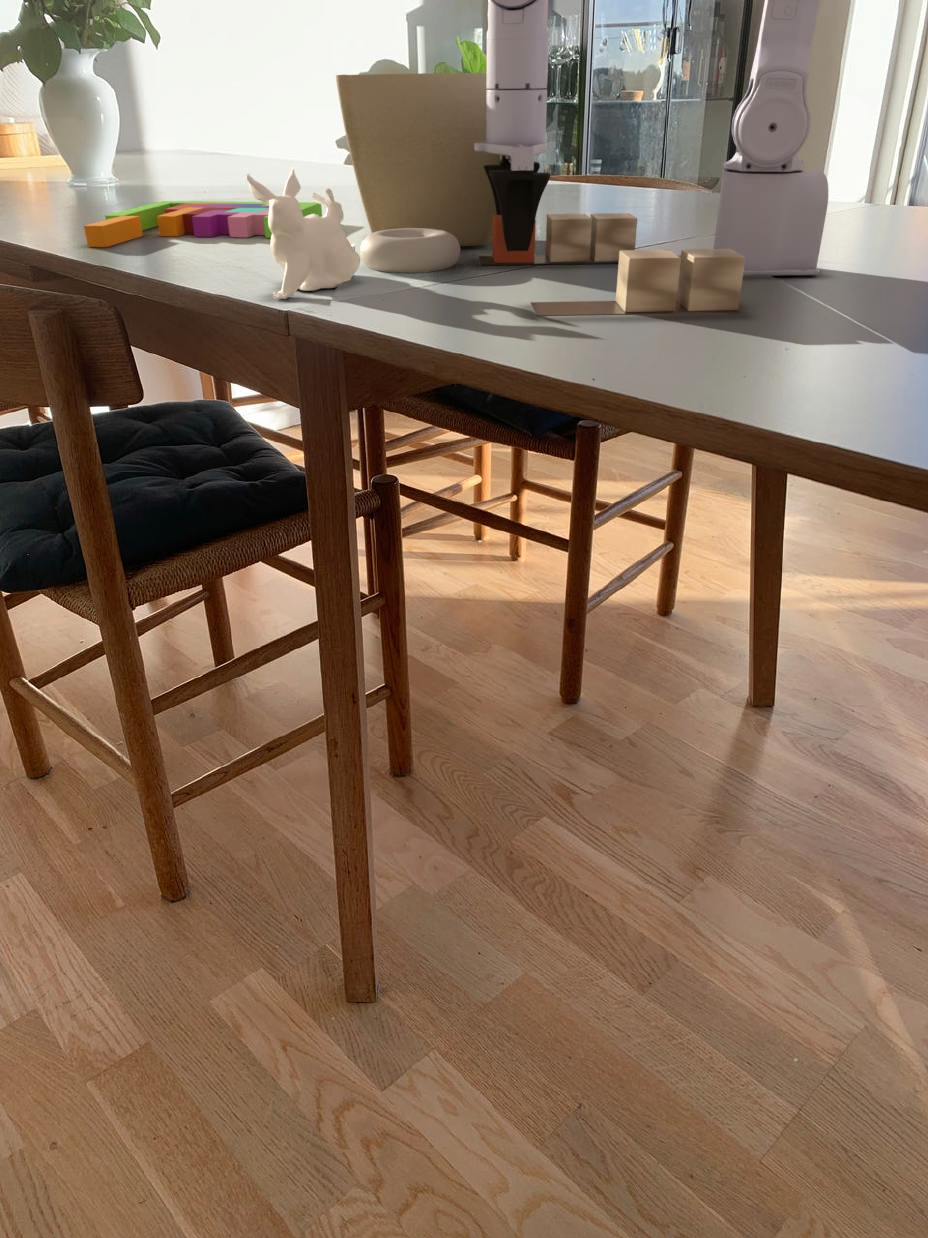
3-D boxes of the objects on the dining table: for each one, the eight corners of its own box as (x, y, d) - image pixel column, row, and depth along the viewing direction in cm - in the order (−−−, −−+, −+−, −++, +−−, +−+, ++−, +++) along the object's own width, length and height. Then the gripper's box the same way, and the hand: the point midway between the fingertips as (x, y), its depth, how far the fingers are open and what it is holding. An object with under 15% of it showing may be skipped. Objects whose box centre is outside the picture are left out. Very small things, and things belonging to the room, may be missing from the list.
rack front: (721, 303, 76) (728, 247, 74) (739, 317, 72) (748, 257, 69) (529, 307, 75) (531, 250, 73) (536, 320, 71) (538, 260, 69)
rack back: (629, 257, 96) (633, 212, 94) (639, 265, 92) (643, 218, 90) (478, 260, 96) (478, 214, 93) (480, 268, 91) (480, 220, 89)
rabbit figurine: (280, 301, 78) (267, 176, 73) (225, 290, 82) (209, 171, 78) (378, 280, 86) (372, 166, 81) (324, 271, 90) (315, 162, 85)
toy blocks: (165, 218, 127) (69, 246, 106) (162, 200, 126) (65, 225, 105) (322, 220, 124) (256, 249, 102) (321, 202, 123) (253, 227, 101)
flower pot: (347, 232, 114) (337, 75, 106) (498, 228, 116) (499, 74, 107) (347, 256, 98) (335, 73, 89) (522, 251, 100) (526, 72, 91)
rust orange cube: (530, 255, 95) (531, 214, 93) (534, 262, 92) (535, 219, 90) (492, 256, 95) (492, 214, 93) (494, 263, 92) (495, 219, 89)
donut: (348, 277, 88) (449, 278, 86) (344, 239, 86) (447, 239, 85) (377, 260, 97) (469, 260, 95) (374, 225, 95) (468, 224, 93)
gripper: (470, 89, 92) (471, 234, 99) (478, 90, 79) (478, 256, 86) (540, 88, 92) (536, 233, 99) (559, 89, 80) (552, 255, 86)
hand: (514, 244), depth 93 cm, fingers open, 7 cm apart
